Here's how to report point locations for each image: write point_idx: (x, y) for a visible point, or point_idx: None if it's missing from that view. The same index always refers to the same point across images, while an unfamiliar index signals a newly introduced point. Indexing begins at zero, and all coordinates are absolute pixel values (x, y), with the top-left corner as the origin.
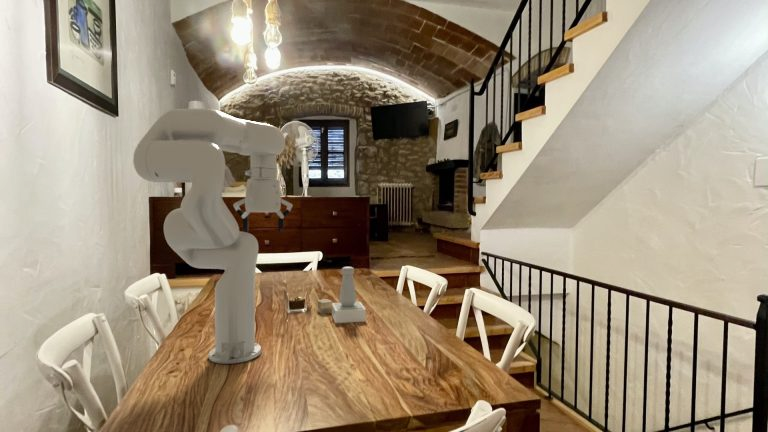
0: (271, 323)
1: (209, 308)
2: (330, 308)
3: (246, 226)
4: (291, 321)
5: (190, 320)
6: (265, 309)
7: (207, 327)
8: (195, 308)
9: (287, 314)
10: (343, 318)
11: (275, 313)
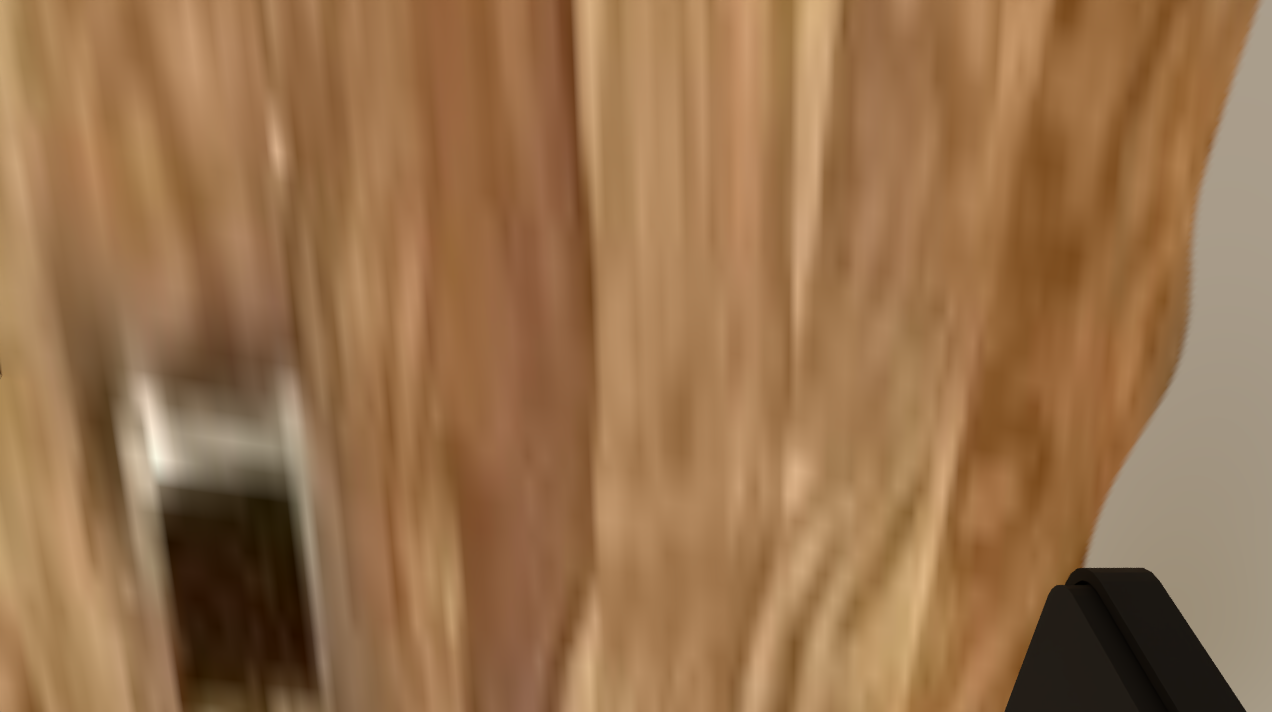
0: (430, 79)
1: (961, 587)
2: None
3: (1183, 707)
4: (231, 102)
5: (1121, 312)
6: (514, 501)
7: (1004, 87)
8: None
9: (297, 330)
10: None
11: (415, 378)
